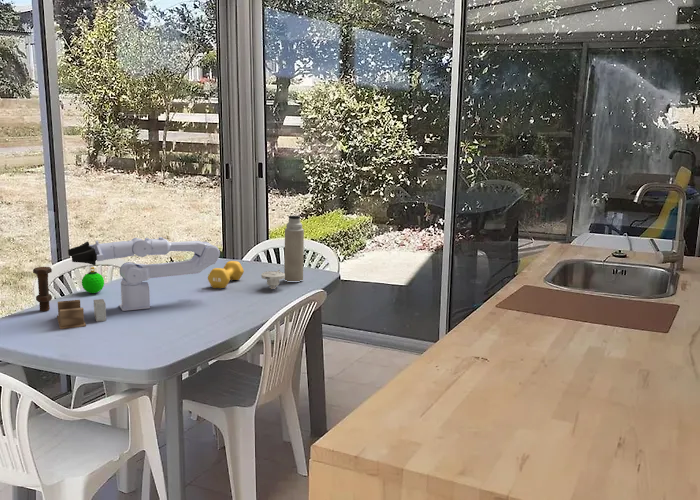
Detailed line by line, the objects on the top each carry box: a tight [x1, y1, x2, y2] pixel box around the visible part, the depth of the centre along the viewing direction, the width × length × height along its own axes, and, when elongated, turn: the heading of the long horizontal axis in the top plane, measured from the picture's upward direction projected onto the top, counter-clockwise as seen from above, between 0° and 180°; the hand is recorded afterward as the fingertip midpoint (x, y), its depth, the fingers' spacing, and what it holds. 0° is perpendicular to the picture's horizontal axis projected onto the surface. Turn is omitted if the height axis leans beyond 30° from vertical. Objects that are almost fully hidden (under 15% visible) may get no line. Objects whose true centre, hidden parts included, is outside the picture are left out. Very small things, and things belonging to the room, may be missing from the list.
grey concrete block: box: [93, 298, 107, 323], centre depth 218 cm, size 3×6×6 cm, turn 28°
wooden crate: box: [56, 299, 87, 330], centre depth 214 cm, size 8×14×6 cm, turn 27°
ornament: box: [81, 266, 105, 294], centre depth 249 cm, size 8×8×10 cm
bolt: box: [32, 266, 53, 312], centre depth 224 cm, size 6×5×15 cm
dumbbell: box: [207, 260, 245, 289], centre depth 270 cm, size 19×9×8 cm, turn 166°
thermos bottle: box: [283, 214, 305, 281], centre depth 276 cm, size 8×8×28 cm
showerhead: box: [260, 268, 285, 290], centre depth 263 cm, size 9×7×10 cm
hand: (70, 255), depth 219 cm, fingers open, 7 cm apart
